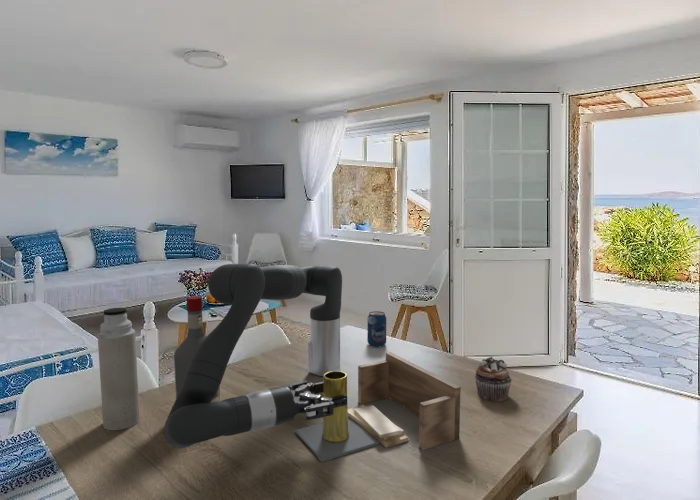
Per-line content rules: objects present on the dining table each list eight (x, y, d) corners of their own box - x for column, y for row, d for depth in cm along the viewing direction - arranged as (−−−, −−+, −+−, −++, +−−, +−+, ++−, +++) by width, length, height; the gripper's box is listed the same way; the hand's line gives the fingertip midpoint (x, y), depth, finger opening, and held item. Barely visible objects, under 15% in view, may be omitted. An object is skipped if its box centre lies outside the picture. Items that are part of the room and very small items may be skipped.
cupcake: (468, 395, 129) (469, 360, 128) (484, 385, 136) (485, 351, 135) (501, 406, 123) (502, 368, 121) (516, 394, 130) (518, 359, 128)
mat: (321, 461, 97) (321, 459, 97) (295, 432, 109) (295, 430, 109) (379, 444, 104) (379, 441, 103) (347, 418, 116) (347, 416, 116)
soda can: (373, 349, 169) (373, 316, 167) (364, 343, 175) (364, 312, 174) (389, 346, 172) (390, 314, 171) (380, 341, 178) (380, 310, 177)
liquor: (171, 420, 115) (165, 299, 111) (195, 405, 123) (191, 292, 120) (202, 427, 112) (197, 302, 108) (225, 410, 120) (221, 295, 117)
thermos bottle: (121, 412, 119) (115, 304, 116) (147, 417, 116) (141, 306, 113) (95, 427, 111) (87, 311, 108) (121, 432, 109) (115, 314, 106)
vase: (350, 429, 109) (350, 370, 107) (347, 443, 103) (347, 380, 101) (324, 428, 109) (323, 369, 108) (320, 442, 103) (319, 379, 102)
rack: (396, 459, 98) (396, 403, 96) (334, 408, 121) (334, 363, 120) (459, 438, 106) (460, 386, 105) (390, 394, 130) (390, 352, 129)
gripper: (280, 403, 90) (353, 387, 98) (256, 379, 103) (322, 366, 111) (281, 440, 91) (353, 421, 99) (257, 412, 104) (323, 396, 112)
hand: (337, 392), depth 105 cm, fingers open, 8 cm apart
